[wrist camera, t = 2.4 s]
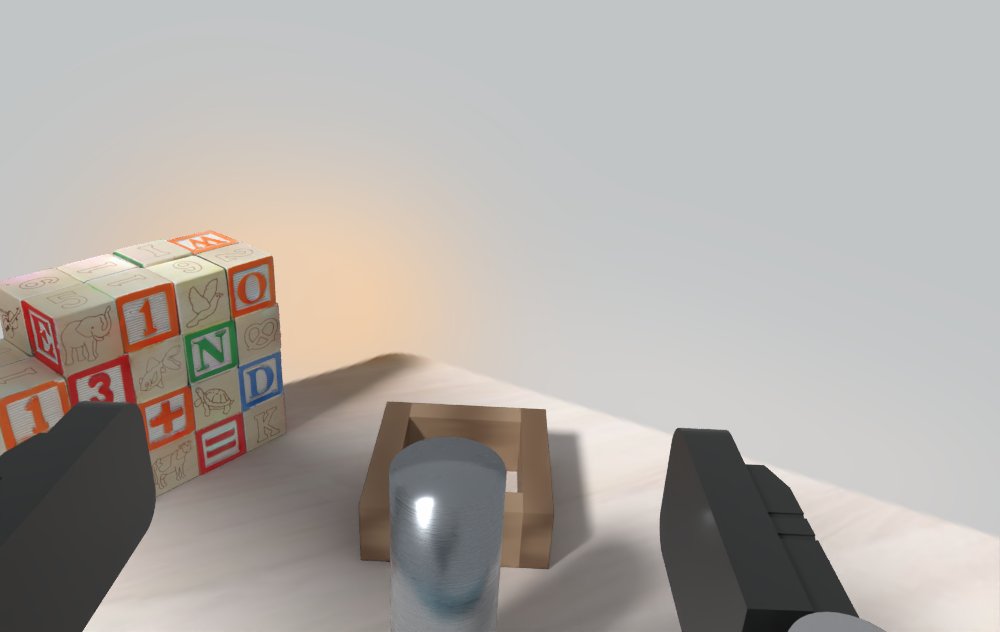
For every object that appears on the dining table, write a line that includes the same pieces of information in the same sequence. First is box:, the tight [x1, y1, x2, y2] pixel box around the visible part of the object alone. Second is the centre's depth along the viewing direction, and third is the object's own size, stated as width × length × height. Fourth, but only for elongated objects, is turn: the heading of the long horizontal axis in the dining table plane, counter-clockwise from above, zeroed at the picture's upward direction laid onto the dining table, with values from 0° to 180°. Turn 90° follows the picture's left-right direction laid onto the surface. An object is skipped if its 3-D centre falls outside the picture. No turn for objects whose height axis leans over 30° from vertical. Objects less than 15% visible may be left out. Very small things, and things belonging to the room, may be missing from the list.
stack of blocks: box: [0, 231, 286, 497], centre depth 40 cm, size 21×6×12 cm, turn 142°
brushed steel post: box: [389, 437, 506, 632], centre depth 29 cm, size 4×4×12 cm
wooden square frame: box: [359, 402, 554, 569], centre depth 42 cm, size 10×10×4 cm
